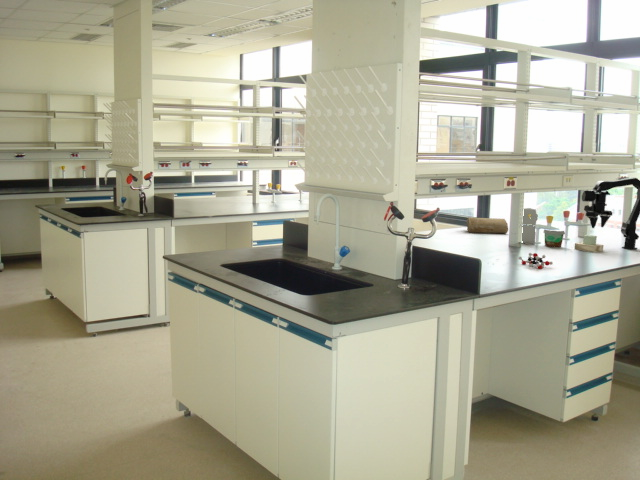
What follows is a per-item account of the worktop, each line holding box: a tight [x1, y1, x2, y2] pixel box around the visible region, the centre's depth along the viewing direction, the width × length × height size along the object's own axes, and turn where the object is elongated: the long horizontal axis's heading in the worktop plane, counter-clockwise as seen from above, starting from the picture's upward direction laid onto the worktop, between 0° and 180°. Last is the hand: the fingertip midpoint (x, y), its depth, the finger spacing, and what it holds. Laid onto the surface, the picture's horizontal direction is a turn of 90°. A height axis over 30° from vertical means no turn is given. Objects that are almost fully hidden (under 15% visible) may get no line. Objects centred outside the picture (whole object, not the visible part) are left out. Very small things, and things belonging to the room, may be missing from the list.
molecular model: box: [518, 252, 553, 270], centre depth 307 cm, size 10×12×15 cm
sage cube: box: [582, 234, 598, 245], centre depth 359 cm, size 5×5×5 cm
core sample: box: [466, 217, 509, 234], centre depth 419 cm, size 14×26×10 cm, turn 89°
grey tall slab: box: [522, 207, 539, 245], centre depth 376 cm, size 11×4×22 cm, turn 61°
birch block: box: [574, 241, 604, 253], centre depth 360 cm, size 10×12×4 cm
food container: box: [543, 229, 566, 248], centre depth 367 cm, size 12×6×10 cm, turn 62°
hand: (597, 227), depth 368 cm, fingers open, 9 cm apart
